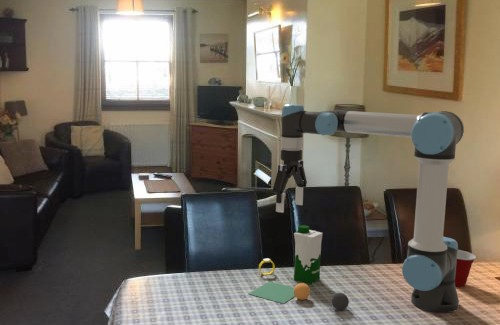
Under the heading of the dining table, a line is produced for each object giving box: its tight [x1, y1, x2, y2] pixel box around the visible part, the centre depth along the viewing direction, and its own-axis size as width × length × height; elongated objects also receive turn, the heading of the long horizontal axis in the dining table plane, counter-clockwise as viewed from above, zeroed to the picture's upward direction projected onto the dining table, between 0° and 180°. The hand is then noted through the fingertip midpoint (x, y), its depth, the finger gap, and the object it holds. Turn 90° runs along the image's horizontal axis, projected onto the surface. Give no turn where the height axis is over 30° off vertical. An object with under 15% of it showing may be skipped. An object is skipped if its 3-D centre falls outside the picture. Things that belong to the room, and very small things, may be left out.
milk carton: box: [293, 224, 323, 285], centre depth 206 cm, size 9×9×20 cm
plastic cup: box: [455, 249, 477, 288], centre depth 206 cm, size 11×11×12 cm
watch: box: [258, 257, 276, 276], centre depth 212 cm, size 6×3×6 cm, turn 106°
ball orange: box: [293, 282, 311, 301], centre depth 190 cm, size 6×6×6 cm
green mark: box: [248, 281, 296, 305], centre depth 196 cm, size 14×14×1 cm
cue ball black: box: [331, 292, 350, 311], centre depth 182 cm, size 6×6×6 cm
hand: (289, 208), depth 200 cm, fingers open, 13 cm apart
